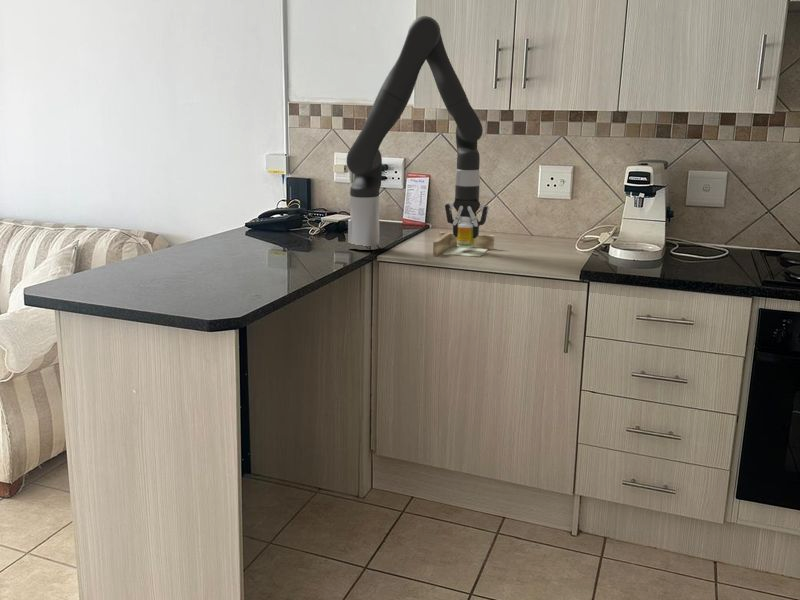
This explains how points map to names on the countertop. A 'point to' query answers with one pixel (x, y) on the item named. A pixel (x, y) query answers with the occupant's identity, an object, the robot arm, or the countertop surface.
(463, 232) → the supplement bottle
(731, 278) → the countertop surface
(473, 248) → the corner arena
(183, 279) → the countertop surface
